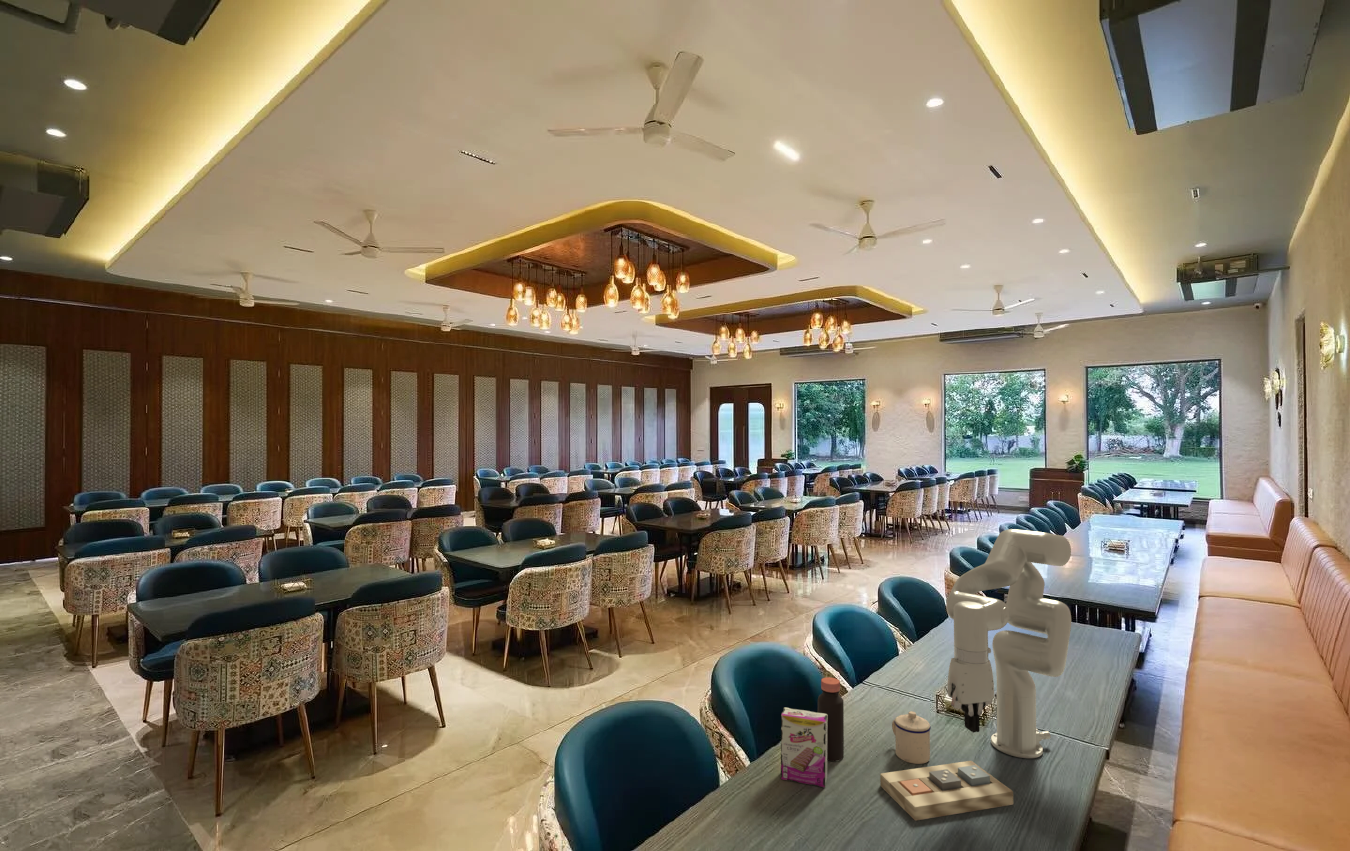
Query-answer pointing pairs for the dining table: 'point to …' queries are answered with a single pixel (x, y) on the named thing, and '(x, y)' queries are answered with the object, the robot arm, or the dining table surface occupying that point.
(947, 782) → the key three
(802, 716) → the candy bar box
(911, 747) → the teacup with lid
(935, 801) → the wooden puzzle board
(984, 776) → the key two
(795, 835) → the dining table surface
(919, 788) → the key one
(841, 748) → the bottle
